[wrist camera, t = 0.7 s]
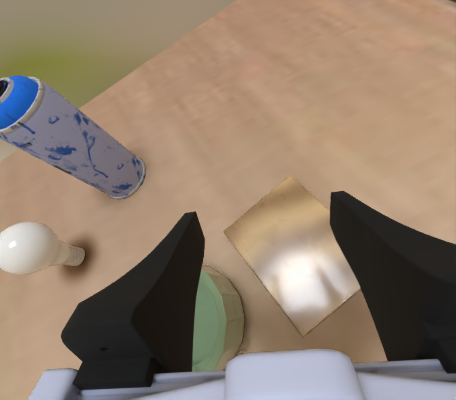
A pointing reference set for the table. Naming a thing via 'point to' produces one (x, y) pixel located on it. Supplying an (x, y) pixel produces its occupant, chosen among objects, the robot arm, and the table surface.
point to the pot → (216, 322)
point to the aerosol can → (65, 137)
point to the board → (295, 254)
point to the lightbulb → (35, 249)
